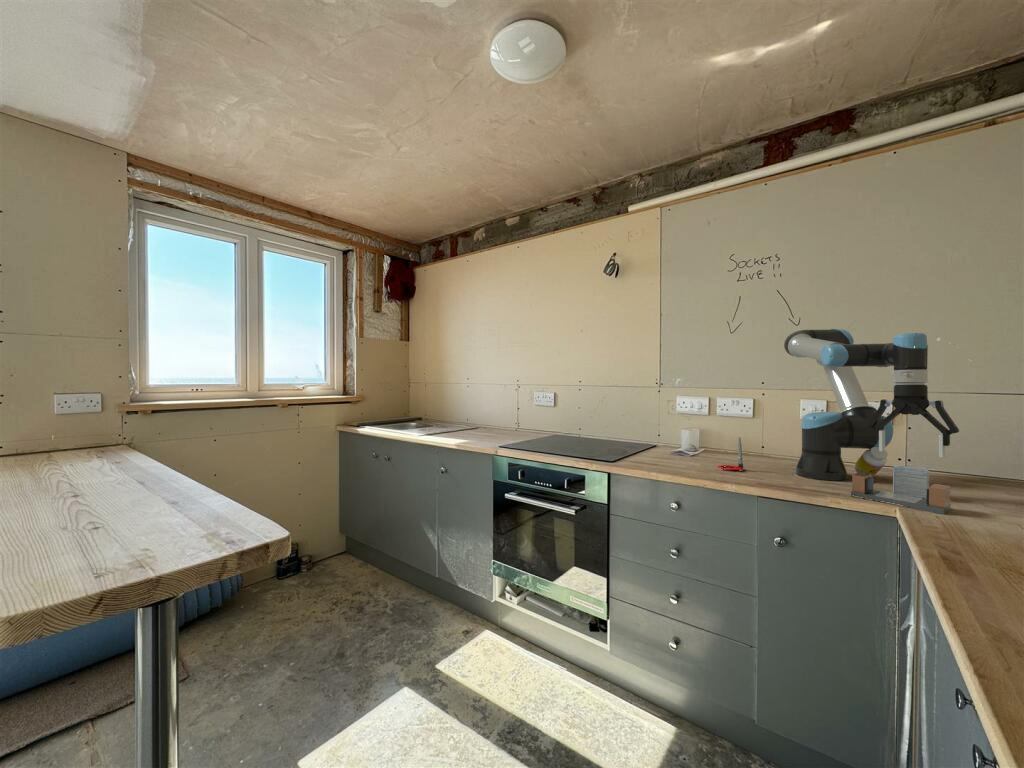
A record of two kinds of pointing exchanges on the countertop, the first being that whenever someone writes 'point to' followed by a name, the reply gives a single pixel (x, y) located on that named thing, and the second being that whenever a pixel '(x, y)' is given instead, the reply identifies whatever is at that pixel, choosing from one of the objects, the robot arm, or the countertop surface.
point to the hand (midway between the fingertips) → (910, 453)
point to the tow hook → (740, 459)
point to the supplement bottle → (871, 461)
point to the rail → (933, 503)
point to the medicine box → (910, 481)
